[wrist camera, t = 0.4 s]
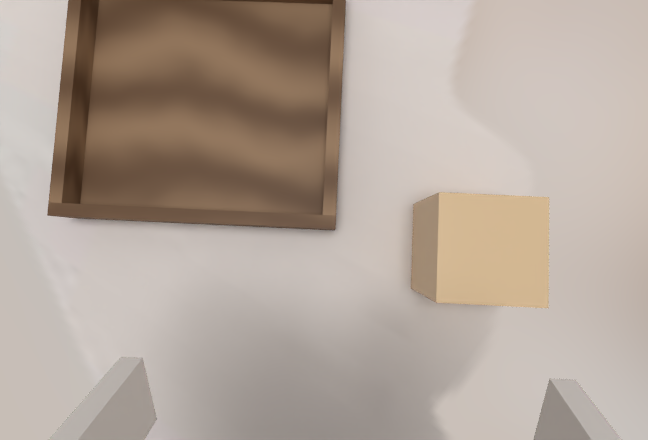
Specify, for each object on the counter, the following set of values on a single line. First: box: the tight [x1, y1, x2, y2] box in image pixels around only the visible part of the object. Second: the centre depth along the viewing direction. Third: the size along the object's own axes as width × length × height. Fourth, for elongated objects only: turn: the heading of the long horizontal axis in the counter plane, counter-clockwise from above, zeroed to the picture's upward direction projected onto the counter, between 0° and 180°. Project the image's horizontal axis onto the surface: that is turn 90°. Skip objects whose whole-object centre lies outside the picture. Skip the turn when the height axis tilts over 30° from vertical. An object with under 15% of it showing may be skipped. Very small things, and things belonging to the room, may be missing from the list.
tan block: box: [411, 192, 549, 308], centre depth 26 cm, size 7×7×7 cm
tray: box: [47, 0, 346, 230], centre depth 29 cm, size 20×22×3 cm
